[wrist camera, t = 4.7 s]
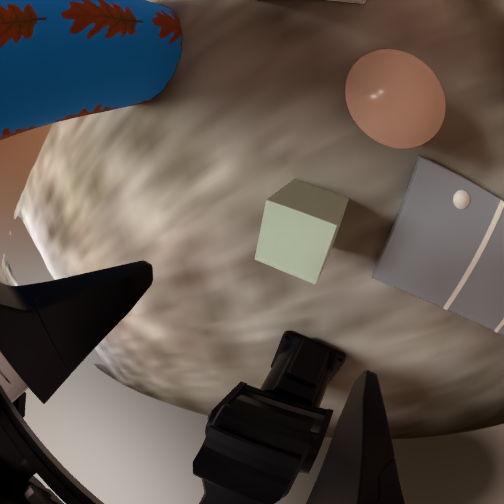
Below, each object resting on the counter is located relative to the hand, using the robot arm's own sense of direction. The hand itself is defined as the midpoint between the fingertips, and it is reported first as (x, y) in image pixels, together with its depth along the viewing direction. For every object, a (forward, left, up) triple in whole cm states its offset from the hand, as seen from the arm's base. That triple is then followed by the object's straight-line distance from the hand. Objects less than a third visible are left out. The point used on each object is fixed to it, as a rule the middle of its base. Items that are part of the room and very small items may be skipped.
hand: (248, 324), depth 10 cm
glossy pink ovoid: (+9, -2, -12) cm, 15 cm away
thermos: (+10, +19, -12) cm, 25 cm away
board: (+2, -14, -12) cm, 19 cm away
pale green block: (0, +1, -12) cm, 12 cm away
